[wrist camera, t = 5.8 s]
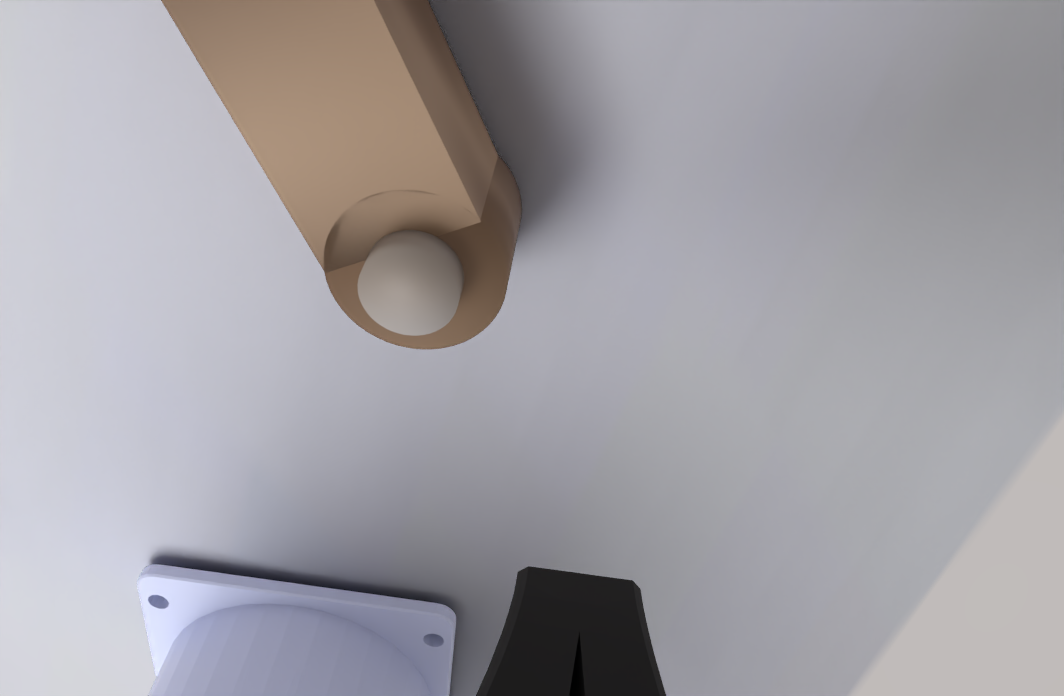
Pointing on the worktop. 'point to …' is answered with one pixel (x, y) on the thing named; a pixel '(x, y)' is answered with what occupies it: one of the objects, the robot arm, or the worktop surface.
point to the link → (369, 155)
